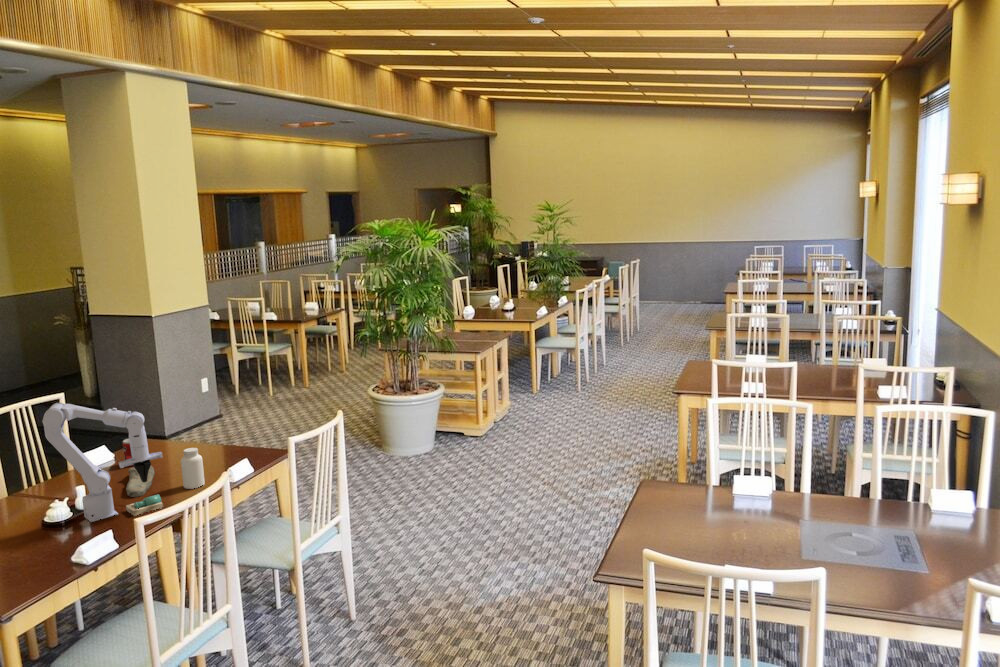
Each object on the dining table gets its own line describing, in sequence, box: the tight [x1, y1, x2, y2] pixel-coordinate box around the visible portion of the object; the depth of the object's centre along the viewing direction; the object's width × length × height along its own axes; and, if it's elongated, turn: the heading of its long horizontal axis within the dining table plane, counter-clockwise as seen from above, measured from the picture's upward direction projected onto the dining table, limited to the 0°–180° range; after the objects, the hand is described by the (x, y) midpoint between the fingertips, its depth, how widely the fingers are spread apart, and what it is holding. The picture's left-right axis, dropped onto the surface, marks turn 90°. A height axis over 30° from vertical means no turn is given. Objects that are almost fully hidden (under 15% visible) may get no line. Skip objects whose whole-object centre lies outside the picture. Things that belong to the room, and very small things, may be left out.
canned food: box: [122, 438, 134, 467], centre depth 339 cm, size 8×8×11 cm
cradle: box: [125, 501, 164, 517], centre depth 284 cm, size 10×8×2 cm
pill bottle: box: [180, 447, 206, 490], centre depth 306 cm, size 8×8×15 cm
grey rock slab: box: [125, 465, 155, 498], centre depth 313 cm, size 35×5×10 cm
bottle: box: [134, 493, 162, 509], centre depth 285 cm, size 4×4×8 cm
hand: (144, 481), depth 283 cm, fingers closed
